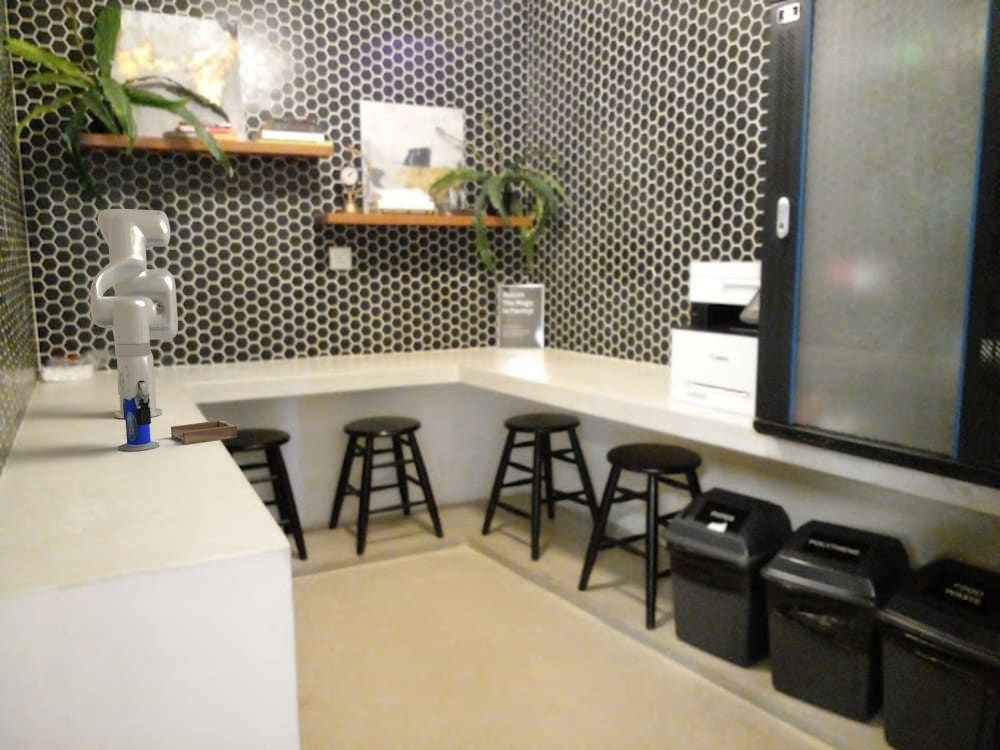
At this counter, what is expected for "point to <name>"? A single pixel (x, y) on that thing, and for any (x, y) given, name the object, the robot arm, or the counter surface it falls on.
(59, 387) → the counter surface
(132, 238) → the robot arm
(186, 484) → the counter surface
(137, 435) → the beverage can
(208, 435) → the brown hollow open frame
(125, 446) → the pad
